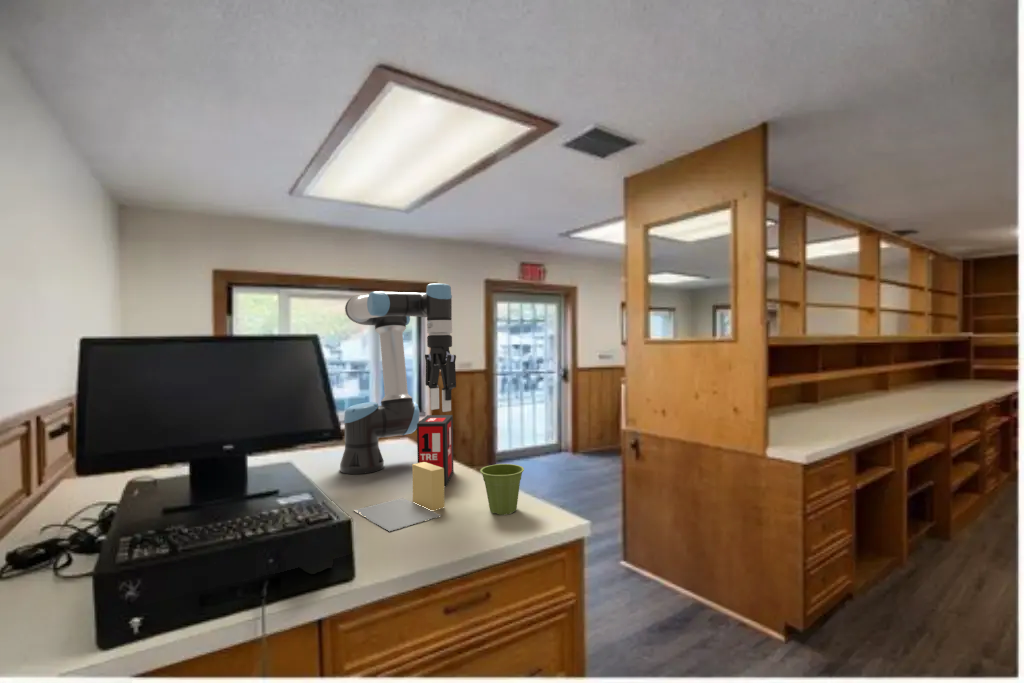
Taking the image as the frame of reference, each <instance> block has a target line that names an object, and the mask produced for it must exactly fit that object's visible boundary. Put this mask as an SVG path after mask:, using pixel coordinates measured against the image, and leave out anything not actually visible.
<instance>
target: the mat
mask: <svg viewBox="0 0 1024 683" xmlns="http://www.w3.org/2000/svg"><path fill="white" fill-rule="evenodd" d="M356 510H358V513H359V512H361V514H362V515H363V516H366V518H367V519H369V520H370V521H369V520H368V521H369V522H371V521H372V522H371V523H373V524H374V523H375V524H374V525H376V524H377V525H376V526H378V525H379V526H381V527H382V528H381V527H380V528H381V529H383V528H384V529H383V530H385V529H386V530H388V531H389V532H388V531H387V532H388V533H391V532H390V531H392V532H394V531H393V530H395V531H398V530H397V529H399V528H402V529H404V528H403V527H405V528H407V527H406V526H408V527H411V526H410V525H412V526H414V525H413V524H415V525H417V524H416V523H418V524H420V523H419V522H422V521H425V520H428V519H431V520H433V519H432V518H435V519H437V518H436V517H438V518H440V517H439V516H441V517H442V515H441V514H438V513H437V512H435V511H430V510H428V509H426V508H424V507H422V506H419V505H417V504H415V503H413V501H410V500H408V499H406V498H404V497H400V498H396V499H392V500H389V501H384V502H380V503H376V504H373V505H369V506H365V507H361V508H357V509H356ZM366 518H365V519H366ZM367 519H366V520H367ZM428 521H429V520H428ZM425 522H426V521H425ZM422 523H423V522H422ZM379 526H378V527H379ZM386 530H385V531H386ZM399 530H400V529H399Z"/></svg>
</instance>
